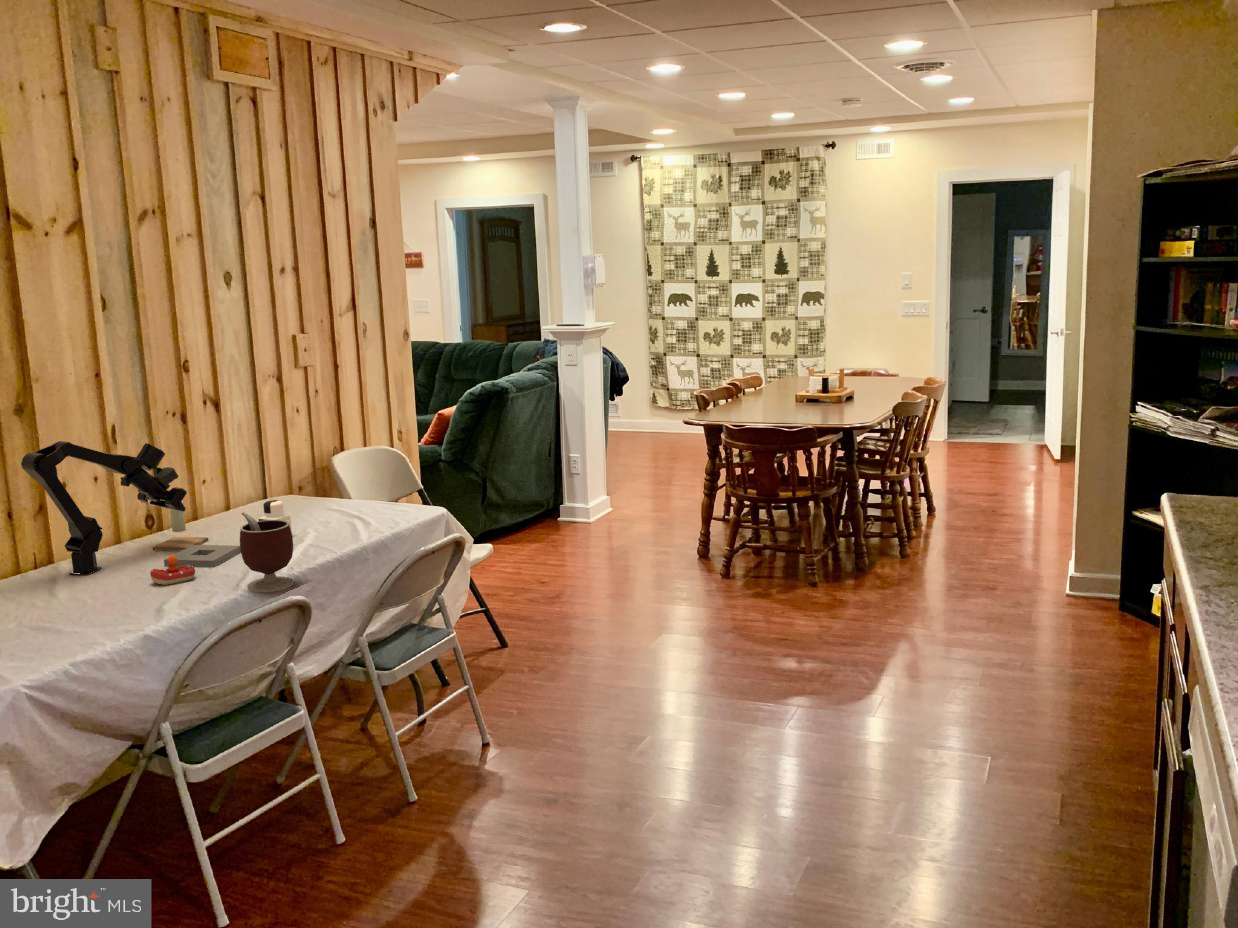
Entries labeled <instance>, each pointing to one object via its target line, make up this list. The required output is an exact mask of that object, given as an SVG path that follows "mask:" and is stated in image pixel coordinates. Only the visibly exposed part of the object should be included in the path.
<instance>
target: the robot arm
mask: <svg viewBox="0 0 1238 928" xmlns="http://www.w3.org/2000/svg"><path fill="white" fill-rule="evenodd" d="M165 456H166V453H165V451H163V450H162V449H160V448H158V447H156V446H154V445H151V443H144V444H143V446H142V448H141V450H140V451H139V452H138V454H137V455H136V456H130V455H125V454H118V453H107V452H106V453H105V452H102V451H98V450H95V449H92V448H87V447H85V446H84V447H83V446H81V445H76V444H74V443H72V442H69V441H64V440H59V441H56V442H54V443H52V444H51V445H48V446H46V447H44V448H40V449H38V450H37V451H35V452H27V453H26V454H25V455H24V456H23V457H22V459H21V463H20V466H21V468H22V470H24V472H26V473H27V474H28V476H29V477H31V478H32V479H33V480H35V481H36V482H38V483H39V484H40V485H41V486H42V487H43V488H42V489H44V491H45V492H46V493H47V495H48V496H49V497H50V499H51V500H52V501H53V503H54V506H56V508H57V509H58V510H59V512H60V513H61V515H62V516H63V518H64V519H65V520H66V522H67V526H68V532H69V534H70V537H69V538H68V540H67V541H66V543H65V544H64V548H65V550H66V551H67V552H70V553H71V554H70V555H71V557H70V558H71V564H72V571H73V573H80V574H89V573H91V572H93V571H95V572H97V571H99V570H101V569H103V568H102V566H98V563H97V556H96V553H97V552H98V551H99V548H100V543H101V541H102V539H103V535H104V534H103V533H104V532H102V530H103V527H101V526H100V525H99V523H98V521H97V519H96V518H95V517H90V516H85V515H84V513H82V510H81V509H80V507H78V505H77V504H76V502H75V501H74V500H73V497H72V496H71V495H70V493H69V492H68V490H67V488H66V487H65V486H64V484H63V483H62V482H61V480H60V479H59V477H58V468H57V465H58V466H59V465H60V464H61V463H62V462H63V461H64V460H65V459H66V458H67V457H69V458H73V459H76V460H81V461H84V462H87V463H91V464H95V465H98V466H100V467H101V468H103V469H105V470H107V471H108V472H110V473H113V474H118V475H119V474H120V475H124V476H121V477H120V486H121V487H127V488H128V487H129V486H130V485H131V486H133V487H134V488H136V489H137V492H138V493H137V495H136V496H137V500H138V501H140V502H141V503H144V504H147V503H148V501H149V505H153V506H156V507H161V508H164V509H169V510H170V508H172V509H175V510H179V511H183V512H184V513H185V511H186V510H187V509H186V506H185V505H184V502H183V503H182V502H181V501H182V500H183V501H184V498H185V496H187V493H188V492H187V490H186V489H184V488H182V487H177V486H176V487H172V488H171V489H170V491H169V488H170V487H171V485H170V483H172V482H173V481H174V480H176V479H178V478H179V475H178V473H177V472H176V469H175V468H173V467H168V466H167V467H162V468H161V467H158V466H159V464H160V463H161V461H162V460H163V458H165ZM148 471H149V472H151V471H153V475H154V476H153V475H151V474H150V473H149V472H148ZM100 568H101V569H100ZM98 569H99V570H98ZM96 570H97V571H96ZM72 571H70V572H72ZM93 573H94V572H93ZM91 574H92V573H91ZM89 575H90V574H89Z"/></svg>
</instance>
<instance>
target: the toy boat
mask: <svg viewBox="0 0 1238 928" xmlns="http://www.w3.org/2000/svg"><path fill="white" fill-rule="evenodd" d="M173 555H174V554H172V555H169V556H168V557H167V558H168V559H167V563H168V565H169V566H167V568H164V569H159V568H151V570H150V572H149V573H150V579H151V581H152V582H153V583H155V584H158V585H162V586H169V585H168V584H170V585H174V583H175V584H180V583H183V581H184V582H188V581H191V580H193V579H194V578H195V574H196V569H195V567H192V566H191V565H184V566H176V564H177V562H178V560H177V557H175V556H173Z"/></svg>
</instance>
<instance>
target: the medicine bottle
mask: <svg viewBox="0 0 1238 928" xmlns="http://www.w3.org/2000/svg"><path fill="white" fill-rule="evenodd" d="M284 512H285V510H284V502H283V501H282V500H279V499H278V500H277V499H275V500H273V499H271V500H267V501H265V502H264V503H263V513H264V515H263V516H259V517H258V521H264V520H284V521H287V522H289V526H290V529H291V533H292V534H293V531H292V520H291V514H286V513H284Z"/></svg>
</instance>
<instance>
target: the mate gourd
mask: <svg viewBox="0 0 1238 928" xmlns="http://www.w3.org/2000/svg"><path fill="white" fill-rule="evenodd" d="M241 515H242V516H243V517H244V519H246V521H247V523H245V524H244V525H242V526H241V527H240V532H239V546H240V550H241V552H240V553H241V554H240V555H241V558H242V560H243V561H242V562H243V563H244V564H245V565H246V567H247V568H249V569H250V571H253V572H256V573H261V574H263V575H264V576H263V578H259V579H255V580H252V581H250V582H249V583H248V584H247V585H246V586H247V590H248V591H249V592H253V593H272V592H279V591H282V590H286V589H289V588H290V587H292V586H293V585H294V582H295V581H294V579H293V578H292V577H289V576H283V575H282V576H279V575H278V576H277V575H276V572H278V571H280V570H282V569H284V568H286V567H287V566H288V565H289V563H290V561H291V560H292V558H293V554H294V553H293V552H294V538H293V532H292V533H291V529H292V528H291V529H290V526H289V522H287V521H284V520H264V521H259V520H258V521H257V520H256V519H255V518H254V517H252V516H251V515H249V514H247V513H246V512H241Z"/></svg>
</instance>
